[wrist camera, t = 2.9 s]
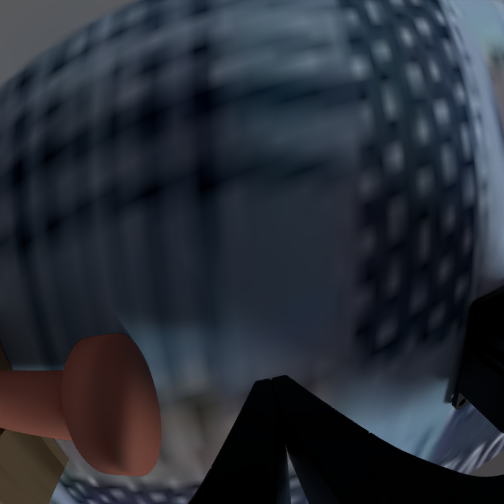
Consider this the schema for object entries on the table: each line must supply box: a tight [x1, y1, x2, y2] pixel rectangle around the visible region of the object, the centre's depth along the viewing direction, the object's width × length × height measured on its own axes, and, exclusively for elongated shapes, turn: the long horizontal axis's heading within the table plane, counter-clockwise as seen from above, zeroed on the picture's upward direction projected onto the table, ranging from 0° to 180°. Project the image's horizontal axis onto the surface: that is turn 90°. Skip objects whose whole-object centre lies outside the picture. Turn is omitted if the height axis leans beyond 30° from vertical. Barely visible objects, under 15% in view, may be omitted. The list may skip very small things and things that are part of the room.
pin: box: [0, 333, 161, 476], centre depth 7 cm, size 10×4×4 cm, turn 100°
